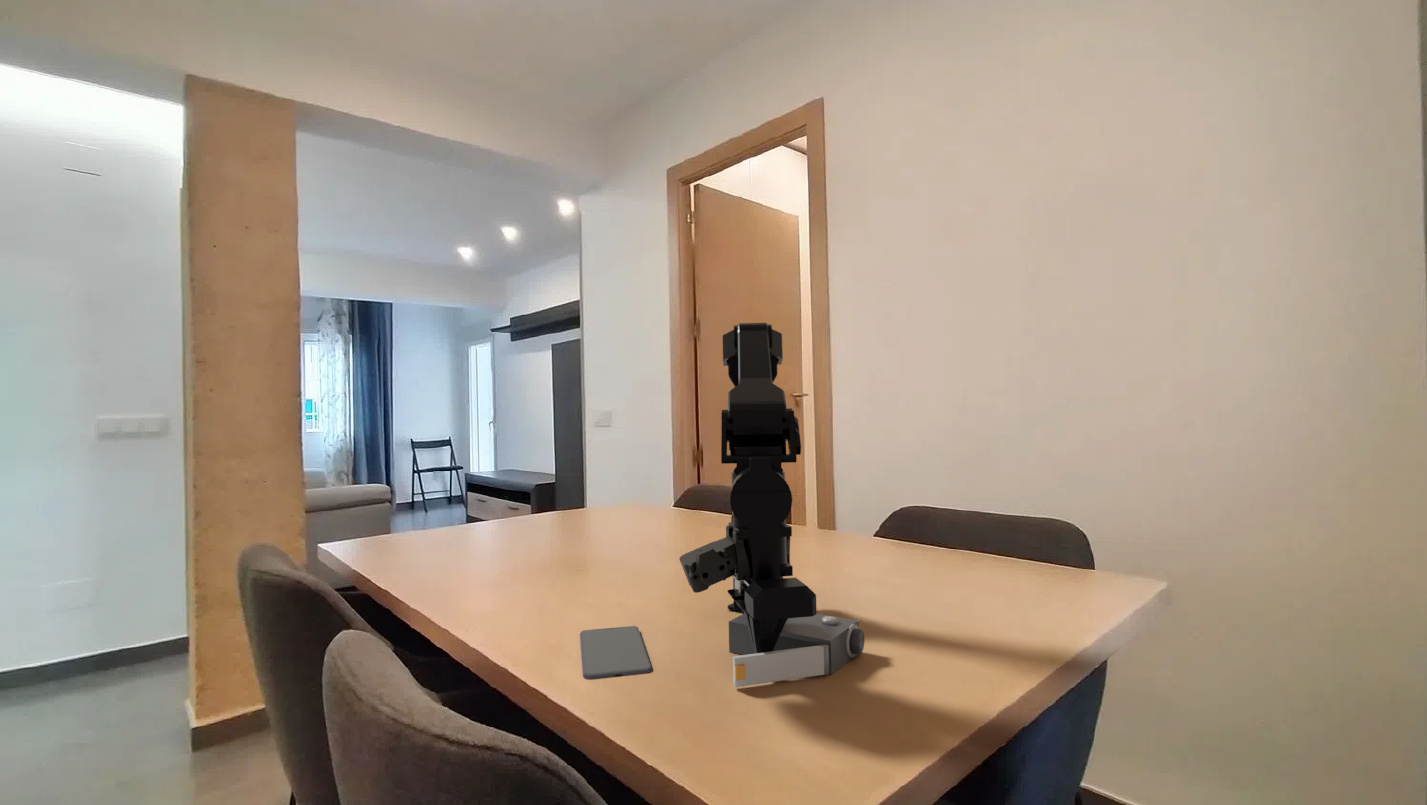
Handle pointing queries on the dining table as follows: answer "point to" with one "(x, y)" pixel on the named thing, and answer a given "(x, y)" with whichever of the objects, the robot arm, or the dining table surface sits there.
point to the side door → (780, 665)
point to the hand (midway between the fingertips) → (762, 661)
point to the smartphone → (613, 652)
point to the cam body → (806, 637)
